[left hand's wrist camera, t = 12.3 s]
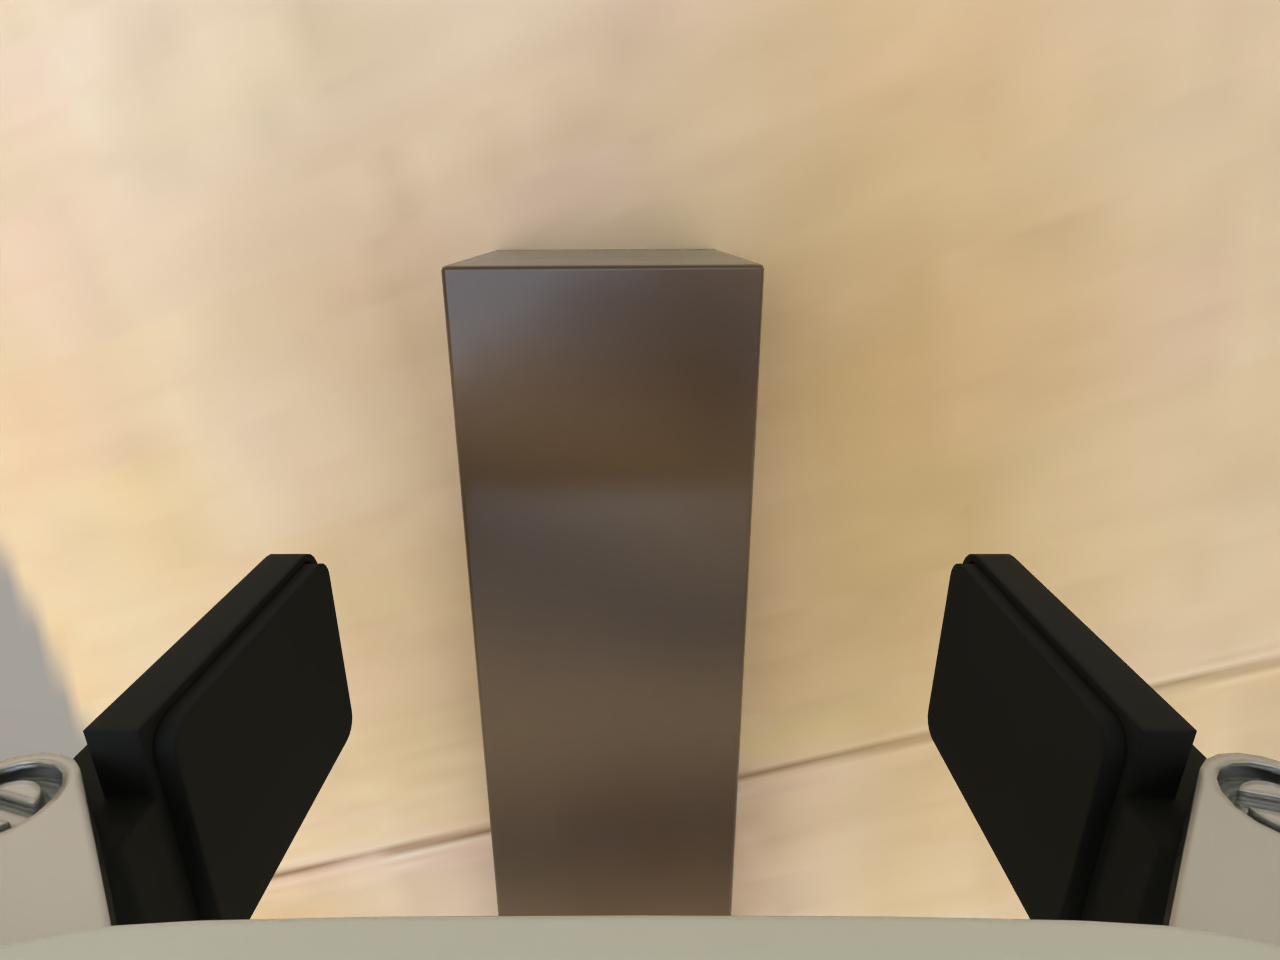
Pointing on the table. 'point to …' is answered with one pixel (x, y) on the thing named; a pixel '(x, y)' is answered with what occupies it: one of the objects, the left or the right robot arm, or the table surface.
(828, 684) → the table surface
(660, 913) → the bar
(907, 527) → the table surface
